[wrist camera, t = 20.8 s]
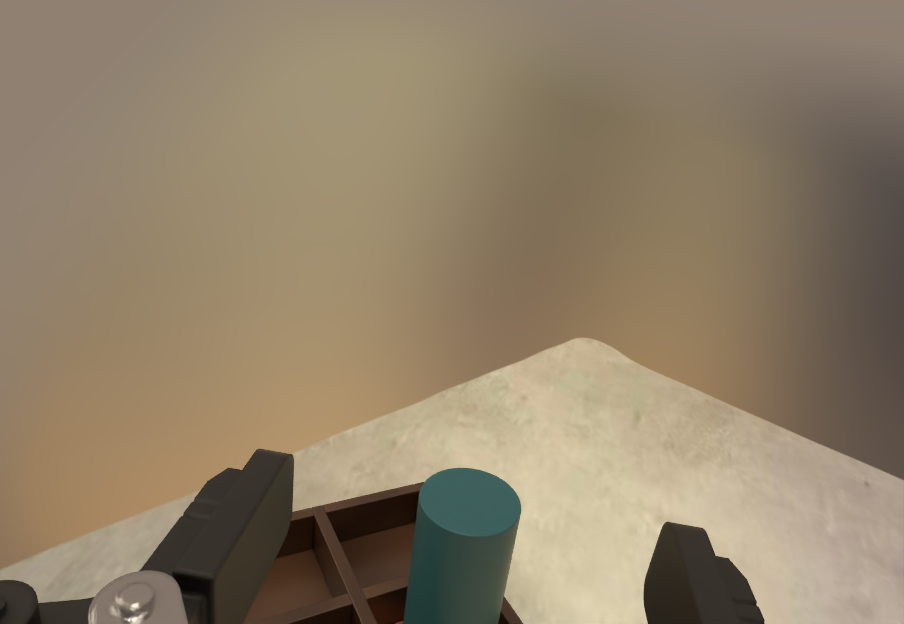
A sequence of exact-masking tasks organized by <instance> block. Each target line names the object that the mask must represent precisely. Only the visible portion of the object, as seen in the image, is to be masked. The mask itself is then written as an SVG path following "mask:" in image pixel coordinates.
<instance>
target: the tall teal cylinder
mask: <svg viewBox="0 0 904 624" xmlns="http://www.w3.org/2000/svg"><path fill="white" fill-rule="evenodd" d="M520 514H521V504H520V500H519V498H518V496H517V494H516V492H515V491H514V490H513V489H512V488H511V487H510V485H508V484H507V483H506V482H505V481H503V480H502V479H500V478H498V477H497V476H495V475H492V474H490V473H487V472H484V471H481V470H476V469H470V468H453V469H447V470H444V471H440V472H438V473H436V474H434V475H432V476H431V477H429V478H428V479H427V480H426V481H425V482H424V484H423V485H422V487H421V489H420V493H419V500H418V508H417V516H416V524H415V532H414V540H413V548H412V556H411V564H410V572H409V580H408V588H407V596H406V604H405V612H404V620H403V624H498V622H499V617H500V612H501V607H502V602H503V597H504V593H505V588H506V583H507V578H508V573H509V568H510V563H511V558H512V553H513V549H514V544H515V539H516V534H517V529H518V524H519V519H520Z"/></svg>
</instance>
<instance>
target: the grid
mask: <svg viewBox="0 0 904 624" xmlns="http://www.w3.org/2000/svg"><path fill="white" fill-rule="evenodd" d="M423 484H424V482H421V483H417V484H415V485H414V484H413V485H408V486H404V487H399V488H395V489H391V490H386V491H382V492H378V493H373V494H369V495H365V496H360V497H356V498H352V499H347V500H343V501H339V502H334V503H330V504H326V505H323V506H322V505H321V506H317V507H312V508H308V509H304V510H299V511H295V512H292V516H291V521H290V526H289V529H288V533H287V535H286V538H285V540H284V542H283V544H282V546H281V548H280V550H279V552H278V554H277V556H276V558H275V560H274V562H273V564H272V566H271V568H270V570H269V572H268V574H267V576H266V578H265V580H264V582H263V584H262V586H261V588H260V590H259V592H258V594H257V596H256V598H255V600H254V602H253V604H252V606H251V608H250V610H249V612H248V614H247V616H246V618H245V620H244V622H243V624H403V620H404V612H405V604H406V596H407V588H408V580H409V572H410V564H411V556H412V548H413V540H414V532H415V524H416V516H417V508H418V500H419V493H420V489H421V487H422V485H423ZM498 624H523V623H522V621H521V620H520V618H519V617H518V616H517V614H516V613H515V611H514V610H513V608H512V607H511V606H510V604H509V603H508V601H507V600H506V598H505V597H503V602H502V607H501V612H500V617H499V622H498Z"/></svg>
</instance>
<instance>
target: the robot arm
mask: <svg viewBox="0 0 904 624" xmlns="http://www.w3.org/2000/svg"><path fill="white" fill-rule="evenodd" d="M293 477H294V458H293V455H292V454H287V453H281V452H275V451H270V450H264V449H257V450H256V451H255V452H254V454H253V455H252V457H251V458H250V460H249V461H248V463H247V464H246V465H245V467H244V468H243V470H238V469H233V468H227V469H226V470H224V471H223V472H221V473H220V474H218V475H217V476H215V477H213V478H212V479H211V480H209V481H207V483H206V484H205V485H204V487H203V488H202V489H201V491H200V492H199V493H198V495H197V496H196V497H195V499H194V502H192V503H191V504H190V505H189V507H188V508H187V509H186V510H185V512H184V515H183V517H182V516H181V517H180V518H179V520H178V521H177V522H176V524H175V525H174V526H173V528H172V529H171V530H170V532H169V533H168V534H167V536H166V537H165V538H164V540H163V541H162V542H161V543H160V545H159V546H158V547H157V549H156V550H155V551H154V553H153V554H152V555H151V557H150V558H149V559H148V561H147V562H146V563H145V565H144V566H143V567H142V569H141V570H140V571H138V572H133V573H129V574H127V575H124V576H121V577H119V578H117V579H115V580H114V581H112V582H110V583H109V584H107V585H106V586H105V587H104V588H102V589H101V590H100V591H99V592H98V593H97V595H96V596H95V597H93V598H88V599H81V600H70V601H59V602H47V603H38V599H37V595H36V592H35V591H34V589H33V588H32V587H31V586H29V585H28V584H26V583H23V582H20V581H15V580H1V581H0V624H243V622H244V620H245V618H246V616H247V614H248V612H249V610H250V608H251V606H252V604H253V602H254V600H255V598H256V596H257V594H258V592H259V590H260V588H261V586H262V584H263V582H264V580H265V578H266V576H267V574H268V572H269V570H270V568H271V566H272V564H273V562H274V560H275V558H276V556H277V554H278V552H279V550H280V548H281V546H282V544H283V542H284V540H285V538H286V535H287V533H288V529H289V526H290V521H291V516H292V503H293ZM756 603H757V602H756V600H755V597H754V595H753V593H752V590H751V588H750V586H749V583H748V581H747V579H746V578H745V577H744V576H743V575H742V573H741V572H740V571H739V570H738V569H737V568H736V567H735V565H734V564H733V563H732V562H731V561H730V560H729V558H723V557H718V556H715V553H714V551H713V548H712V545H711V543H710V540H709V538H708V535H707V533H706V531H705V530H704V529H703V528H699V527H693V526H688V525H682V524H677V523H671V522H666V523H665V524H664V525H663V527H662V529H661V532H660V535H659V538H658V541H657V544H656V547H655V550H654V553H653V556H652V559H651V562H650V565H649V568H648V571H647V574H646V578H645V584H644V607H645V612H646V617H647V621H648V624H764V618H763V616H762V614H761V611H760V609H759V607H757V606H756Z"/></svg>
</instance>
